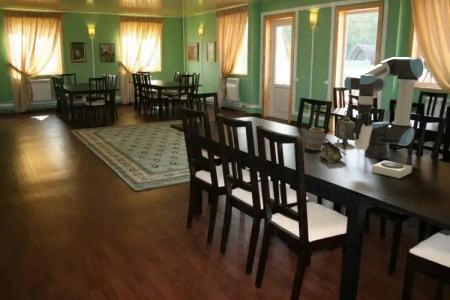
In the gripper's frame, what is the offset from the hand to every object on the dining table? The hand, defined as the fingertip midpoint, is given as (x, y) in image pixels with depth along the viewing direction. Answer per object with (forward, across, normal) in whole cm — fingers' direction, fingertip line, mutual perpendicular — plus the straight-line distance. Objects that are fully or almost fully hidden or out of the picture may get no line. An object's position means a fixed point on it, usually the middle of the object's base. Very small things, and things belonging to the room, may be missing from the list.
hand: (361, 143), depth 218 cm
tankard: (+18, +38, +55) cm, 70 cm away
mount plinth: (+18, +17, -11) cm, 27 cm away
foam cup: (+3, 0, 0) cm, 3 cm away
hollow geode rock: (+18, +18, +29) cm, 38 cm away
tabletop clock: (+19, +66, +47) cm, 83 cm away
